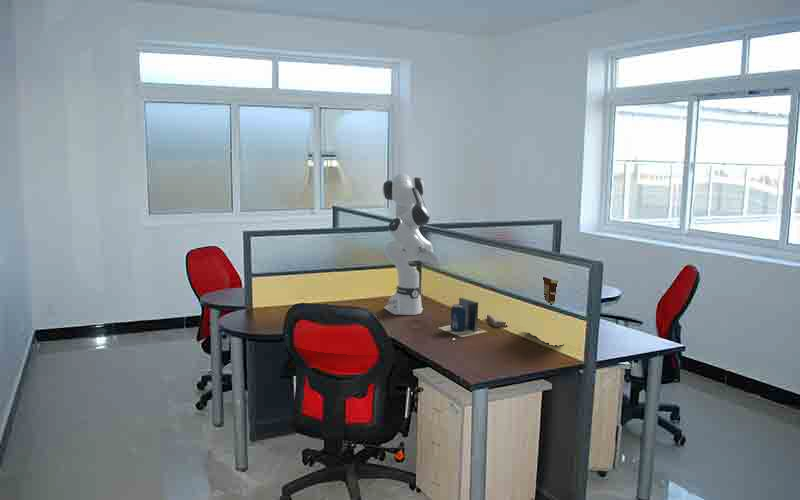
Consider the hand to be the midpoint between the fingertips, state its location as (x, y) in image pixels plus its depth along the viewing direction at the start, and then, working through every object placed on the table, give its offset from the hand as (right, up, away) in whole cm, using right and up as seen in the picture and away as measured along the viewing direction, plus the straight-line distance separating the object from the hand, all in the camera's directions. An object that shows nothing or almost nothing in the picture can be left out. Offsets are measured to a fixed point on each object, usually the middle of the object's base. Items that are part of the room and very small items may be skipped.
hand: (431, 265), depth 303 cm
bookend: (+18, -30, +1) cm, 35 cm away
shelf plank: (+15, -32, -2) cm, 35 cm away
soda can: (+12, -31, -4) cm, 34 cm away
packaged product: (+33, -31, +11) cm, 46 cm away
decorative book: (+52, -34, -11) cm, 63 cm away
